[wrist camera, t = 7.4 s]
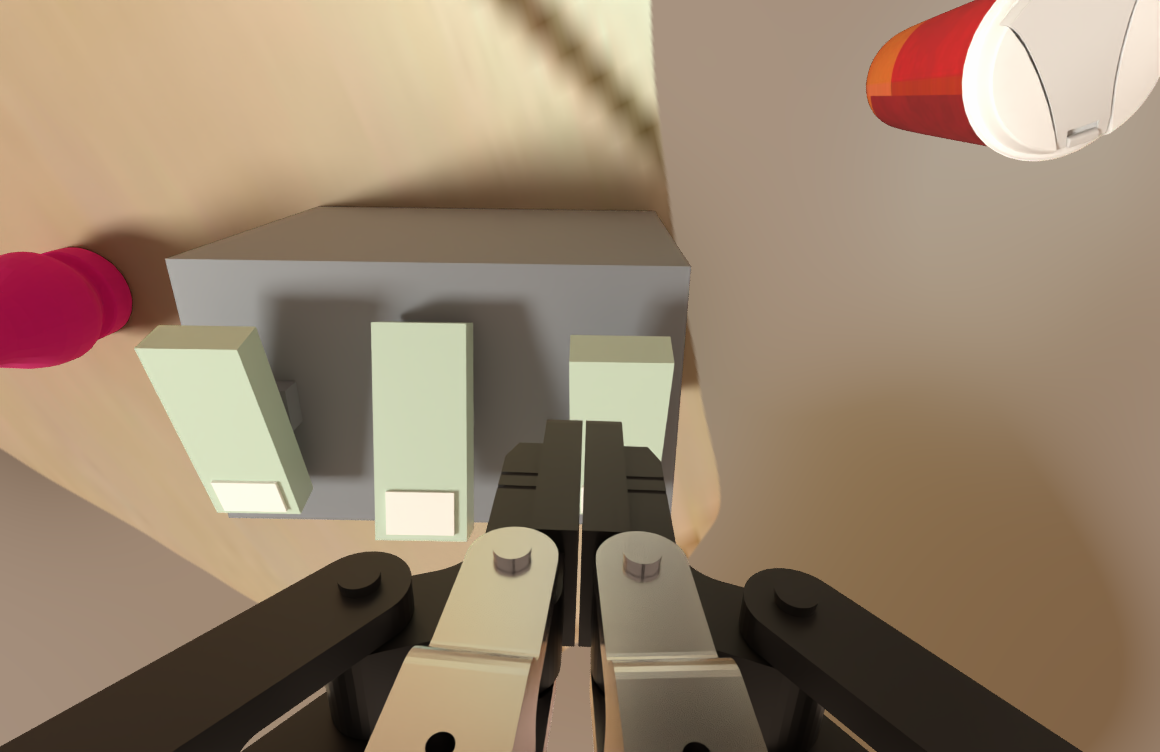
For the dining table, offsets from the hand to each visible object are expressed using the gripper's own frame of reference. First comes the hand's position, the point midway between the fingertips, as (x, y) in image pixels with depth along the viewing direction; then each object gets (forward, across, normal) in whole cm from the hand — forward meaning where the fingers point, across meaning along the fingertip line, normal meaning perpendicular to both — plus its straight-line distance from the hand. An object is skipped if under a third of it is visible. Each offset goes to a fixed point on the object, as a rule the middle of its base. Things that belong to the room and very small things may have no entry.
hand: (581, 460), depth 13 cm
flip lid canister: (+31, -19, -8) cm, 38 cm away
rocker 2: (+12, +7, +6) cm, 15 cm away
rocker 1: (+12, +15, +6) cm, 20 cm away
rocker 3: (+12, -1, +6) cm, 14 cm away
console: (+31, +7, +6) cm, 32 cm away
